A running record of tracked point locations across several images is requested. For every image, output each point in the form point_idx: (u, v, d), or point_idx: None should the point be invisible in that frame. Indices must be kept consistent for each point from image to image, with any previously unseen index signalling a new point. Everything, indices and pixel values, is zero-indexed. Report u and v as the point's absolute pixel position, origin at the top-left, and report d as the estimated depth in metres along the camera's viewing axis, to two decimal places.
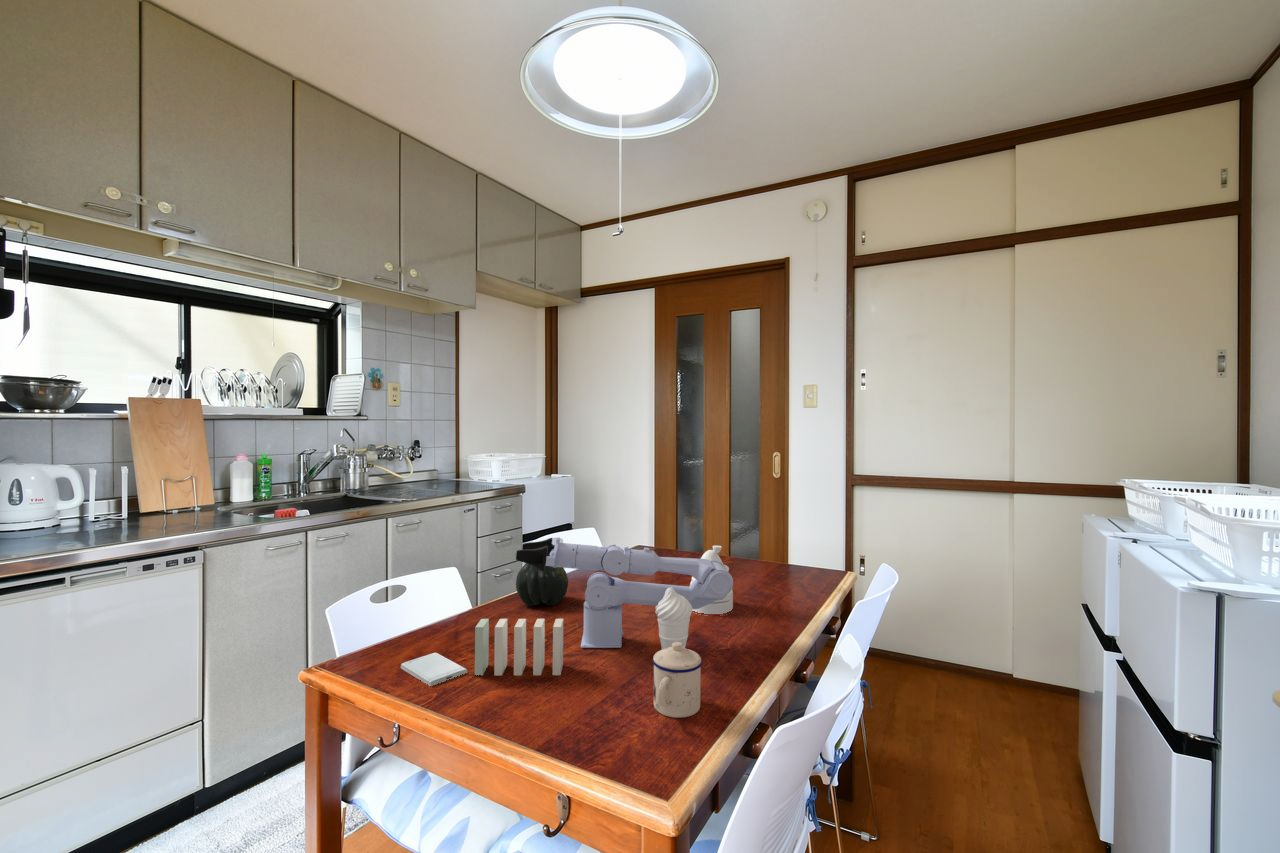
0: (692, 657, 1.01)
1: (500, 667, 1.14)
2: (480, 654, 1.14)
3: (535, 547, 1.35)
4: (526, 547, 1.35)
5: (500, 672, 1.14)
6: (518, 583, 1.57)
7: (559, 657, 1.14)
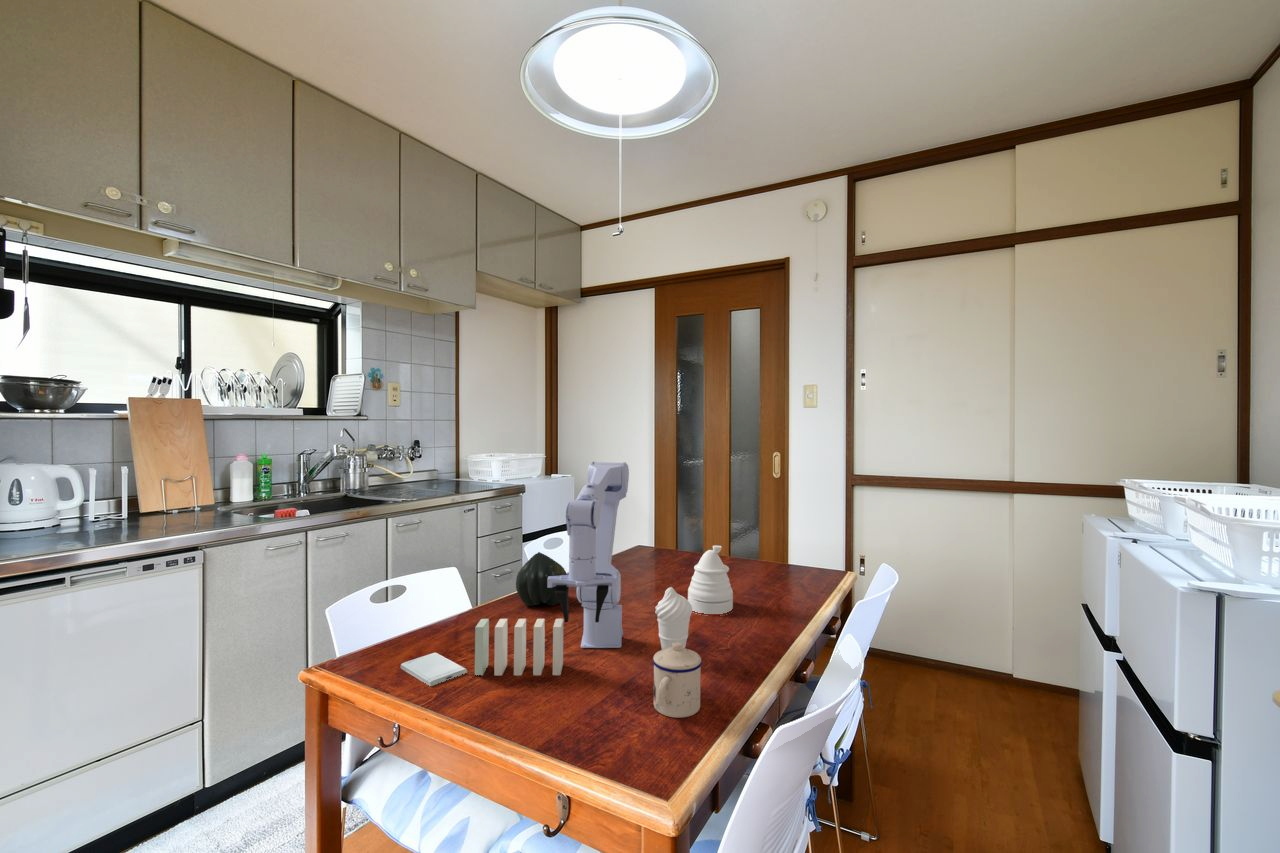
0: (692, 657, 1.01)
1: (500, 667, 1.14)
2: (480, 654, 1.14)
3: (567, 606, 1.17)
4: None
5: (500, 672, 1.14)
6: (518, 583, 1.57)
7: (559, 657, 1.14)
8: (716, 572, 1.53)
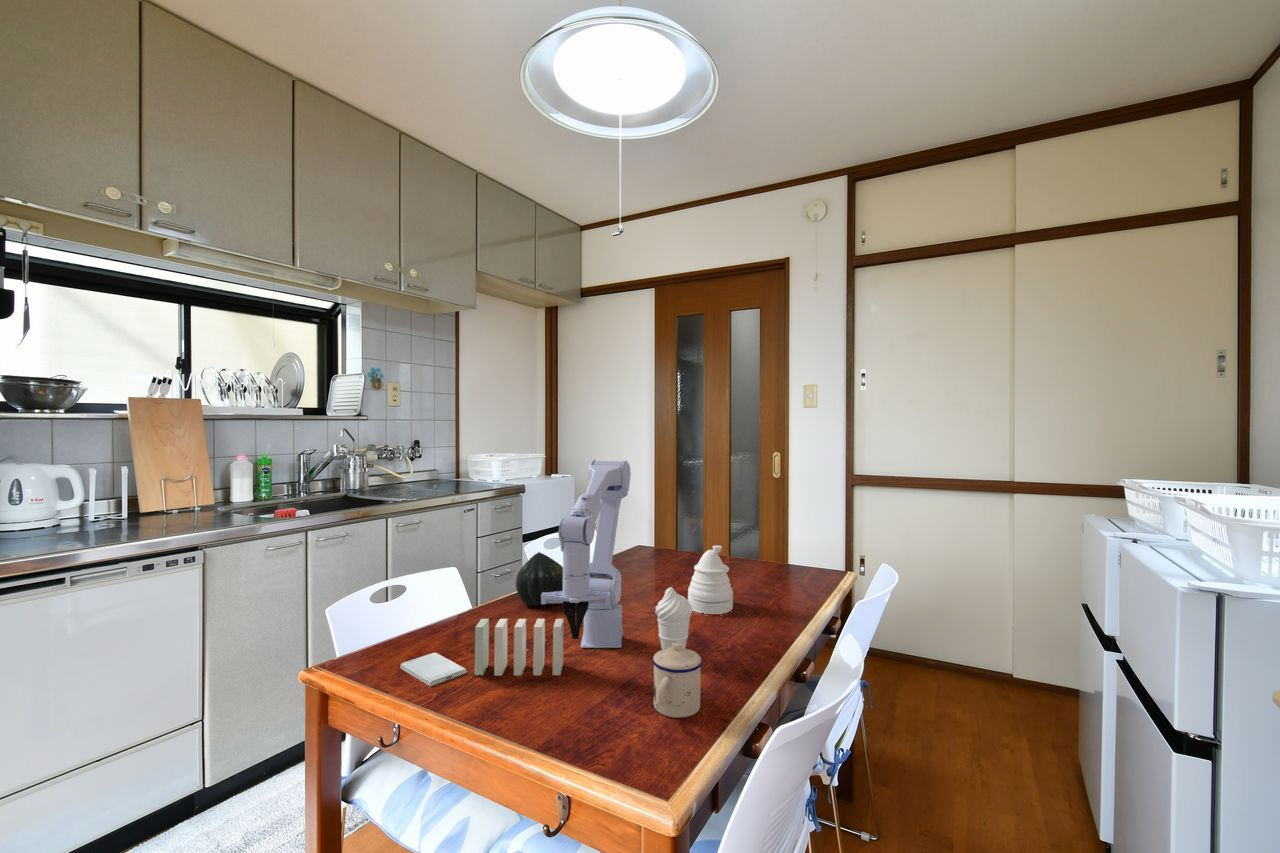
0: (692, 657, 1.01)
1: (500, 667, 1.14)
2: (480, 654, 1.14)
3: (574, 622, 1.17)
4: None
5: (500, 672, 1.14)
6: (518, 583, 1.57)
7: (559, 657, 1.14)
8: (716, 572, 1.53)
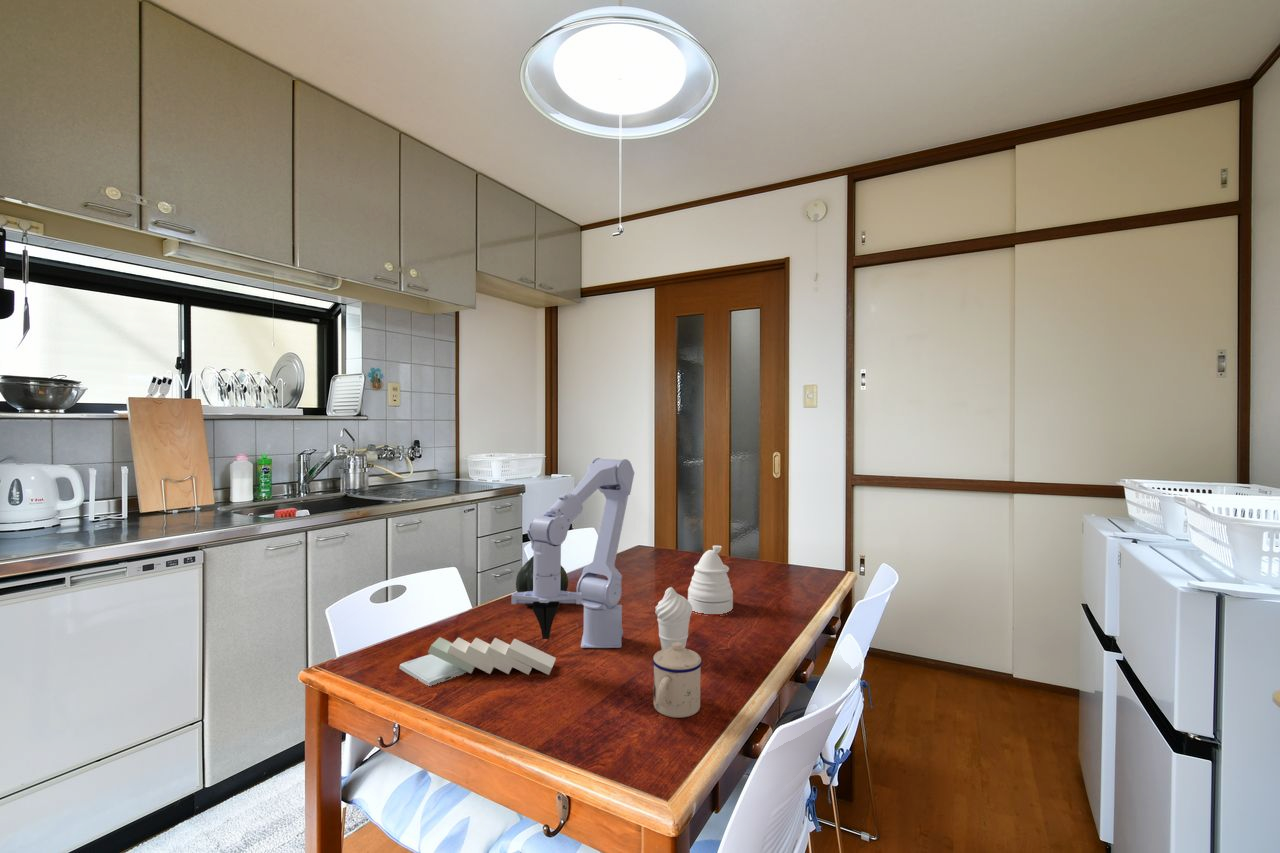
0: (692, 657, 1.01)
1: (485, 664, 1.14)
2: (455, 659, 1.14)
3: (545, 622, 1.16)
4: None
5: (490, 667, 1.14)
6: (518, 583, 1.57)
7: (535, 661, 1.14)
8: (716, 572, 1.53)
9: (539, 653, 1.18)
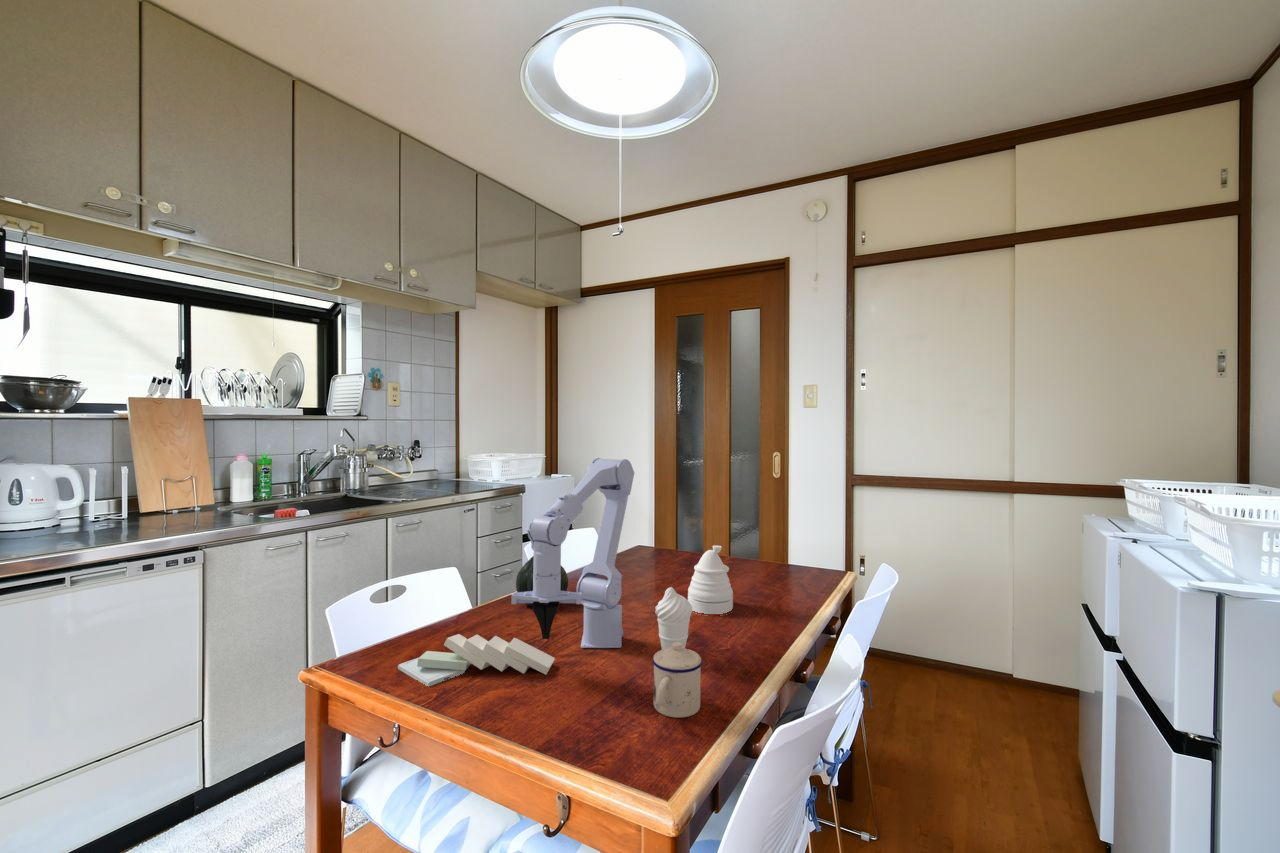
0: (692, 657, 1.01)
1: (477, 660, 1.15)
2: (445, 662, 1.14)
3: (545, 622, 1.16)
4: None
5: (481, 662, 1.15)
6: (518, 583, 1.57)
7: (533, 660, 1.15)
8: (716, 572, 1.53)
9: (538, 653, 1.18)
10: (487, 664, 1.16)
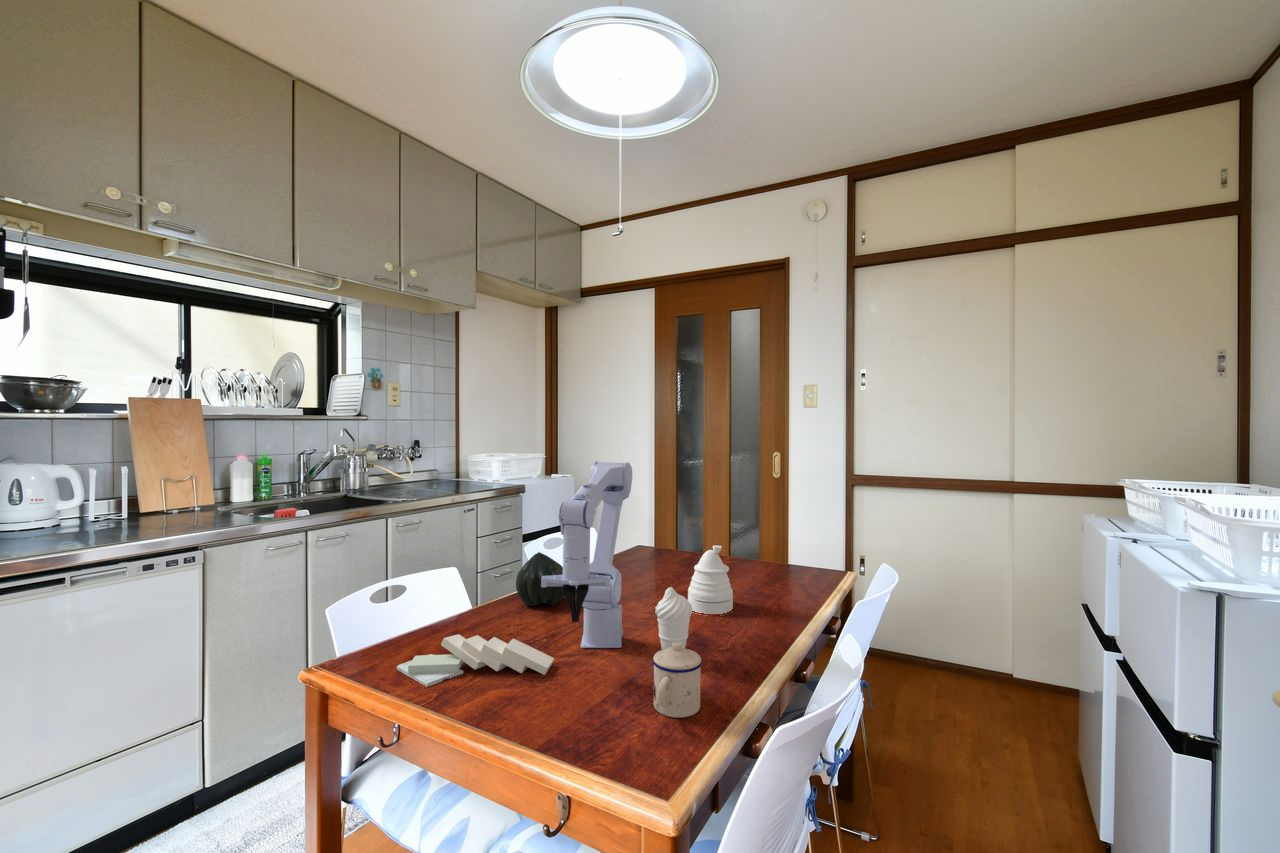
0: (692, 657, 1.01)
1: (471, 659, 1.15)
2: (437, 666, 1.13)
3: (574, 605, 1.17)
4: None
5: (475, 662, 1.15)
6: (518, 583, 1.57)
7: (531, 661, 1.15)
8: (716, 572, 1.53)
9: (537, 653, 1.18)
10: (482, 664, 1.16)
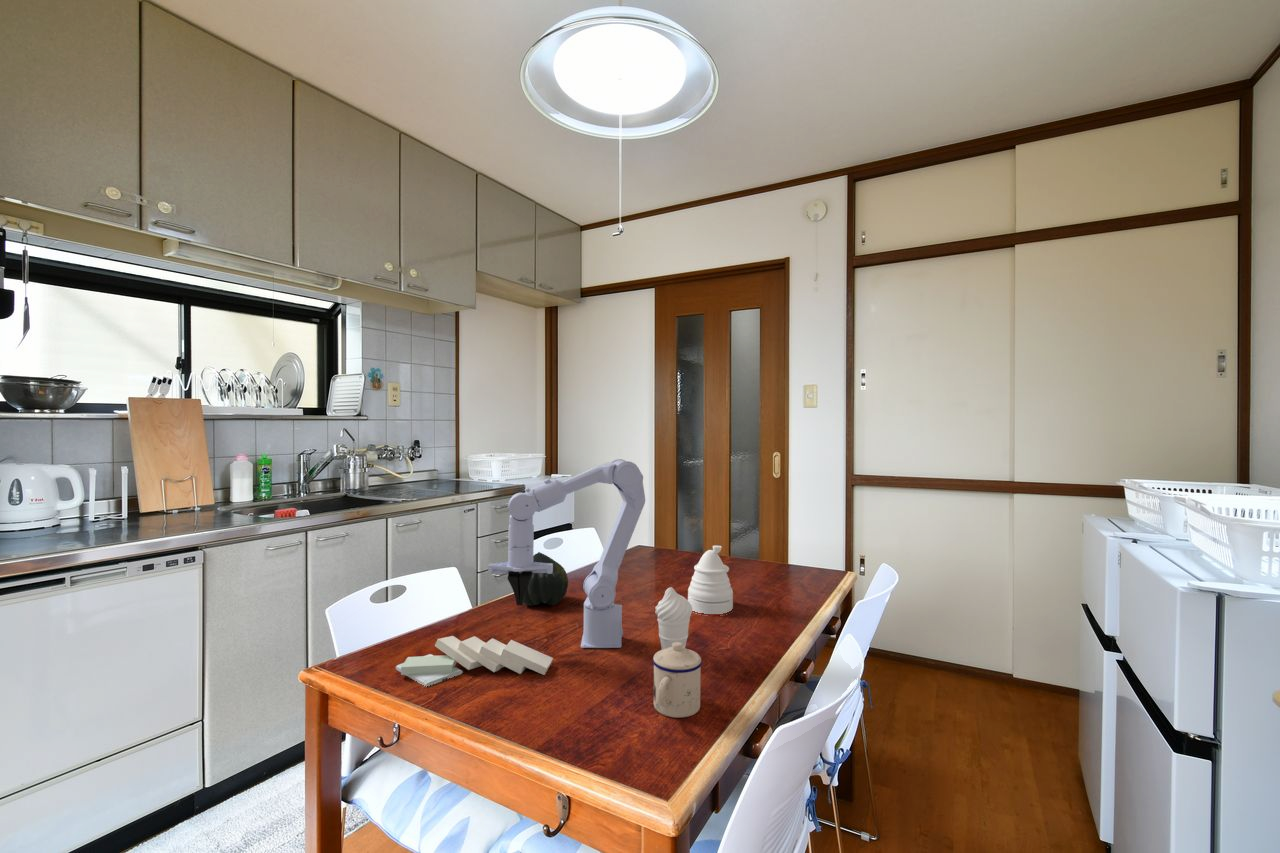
0: (692, 657, 1.01)
1: (465, 660, 1.15)
2: (430, 667, 1.13)
3: (519, 590, 1.27)
4: None
5: (468, 662, 1.14)
6: None
7: (530, 662, 1.14)
8: (716, 572, 1.53)
9: (535, 654, 1.18)
10: (476, 664, 1.16)
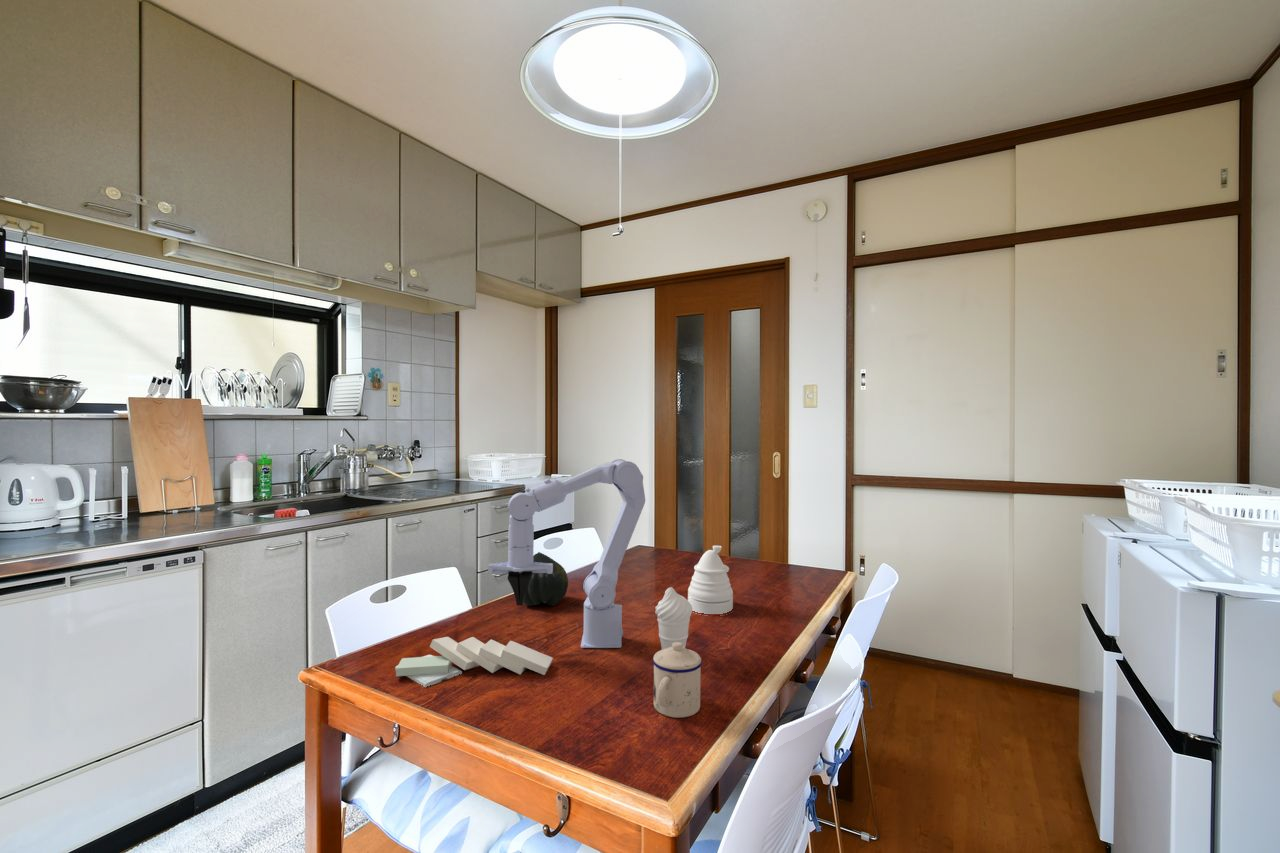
0: (692, 657, 1.01)
1: (460, 660, 1.15)
2: (426, 668, 1.12)
3: (519, 590, 1.27)
4: None
5: (464, 662, 1.14)
6: None
7: (530, 662, 1.14)
8: (716, 572, 1.53)
9: (535, 654, 1.18)
10: (471, 665, 1.16)
